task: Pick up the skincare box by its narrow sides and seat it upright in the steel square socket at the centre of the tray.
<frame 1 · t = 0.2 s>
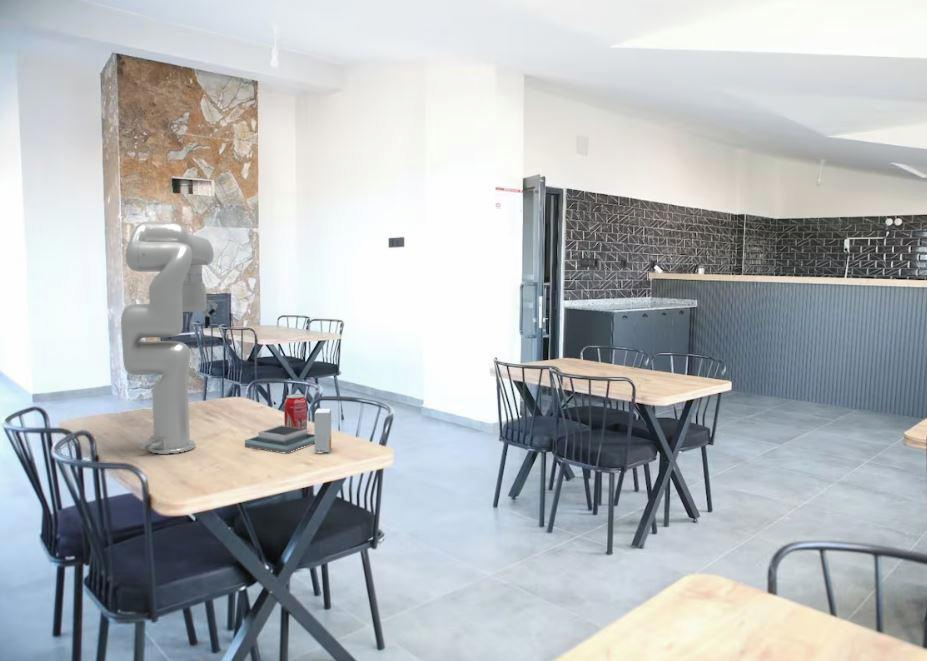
hand: (192, 327, 237), 31 cm above the table, tool pointing down, fingers open, 9 cm apart
skincare box: (323, 451, 196), on the table
tray: (283, 444, 203), on the table
soda can: (296, 432, 217), on the table
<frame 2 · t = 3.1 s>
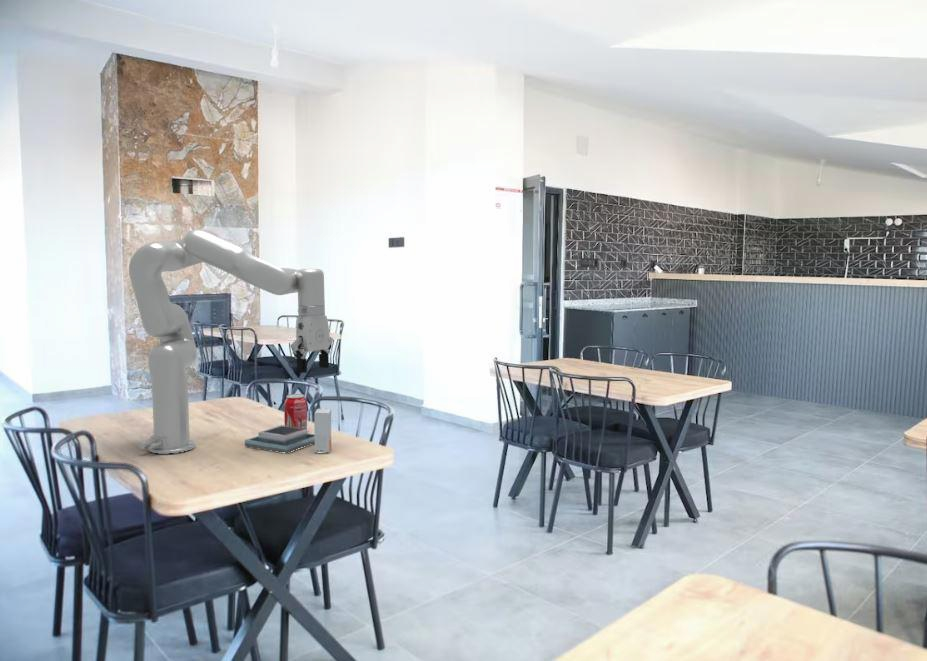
hand: (313, 369, 197), 23 cm above the table, tool pointing down, fingers open, 9 cm apart
nothing on the table moved.
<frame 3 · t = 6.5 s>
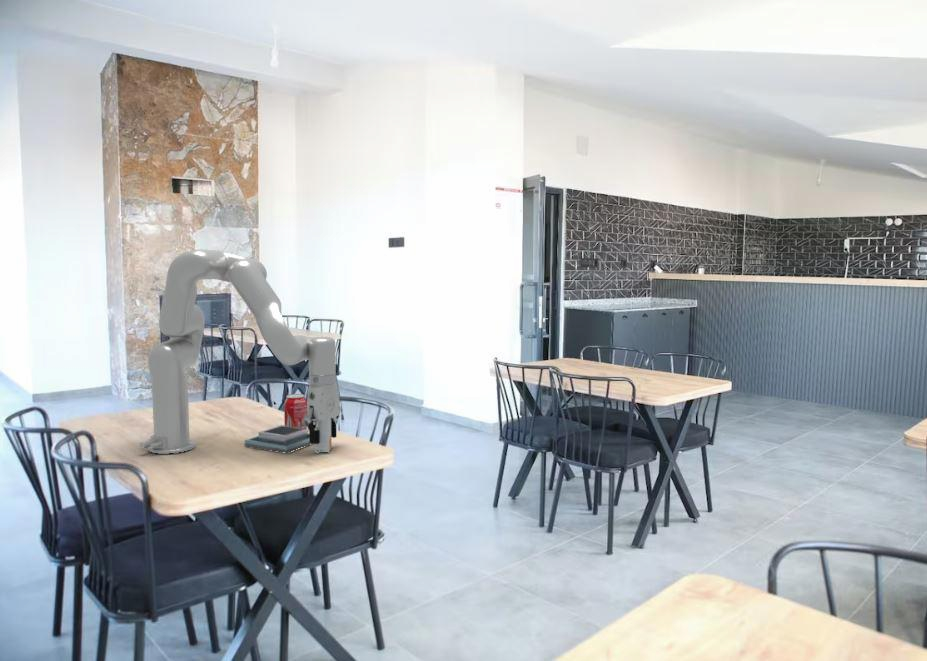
hand: (323, 439, 196), 3 cm above the table, tool pointing down, fingers closed on skincare box, 7 cm apart
skincare box: (323, 451, 196), on the table, touching gripper
everything else where it was.
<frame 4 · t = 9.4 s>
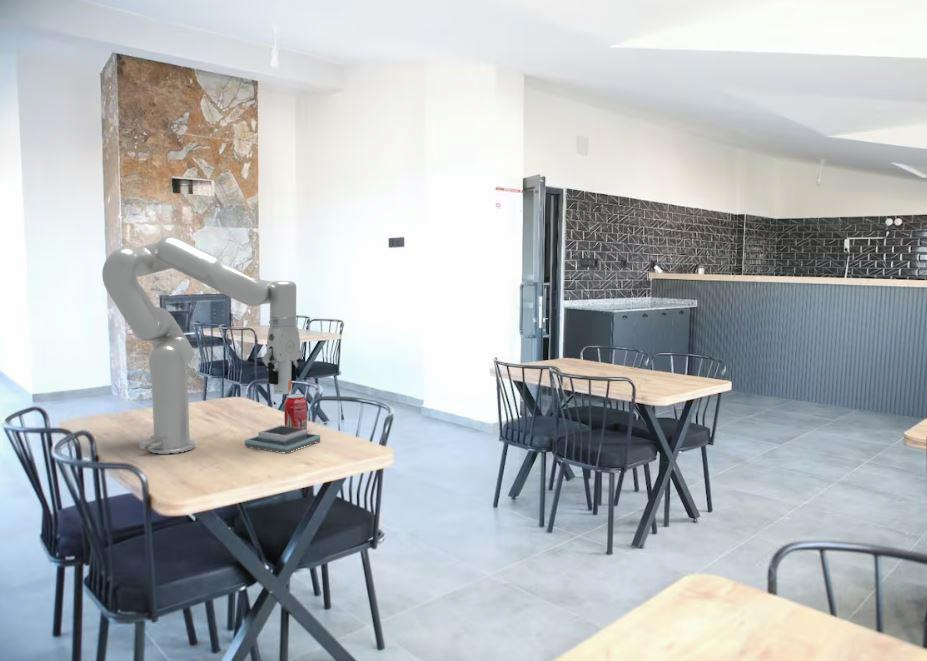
hand: (282, 381, 200), 19 cm above the table, tool pointing down, fingers closed on skincare box, 7 cm apart
skincare box: (282, 393, 201), point 16 cm above the table, touching gripper
everything else where it was.
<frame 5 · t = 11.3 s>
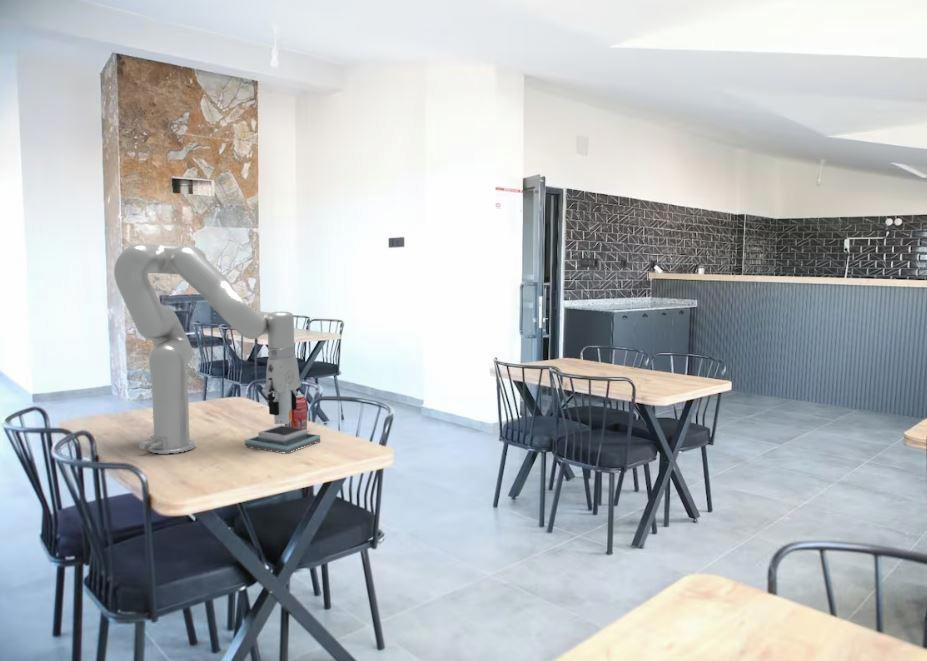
hand: (283, 411, 202), 10 cm above the table, tool pointing down, fingers closed on skincare box, 7 cm apart
skincare box: (283, 422, 202), point 7 cm above the table, touching gripper
everything else where it was.
when the fingers open (6 cm above the table, at t = 12.7 s): skincare box drops 1 cm, resting on tray.
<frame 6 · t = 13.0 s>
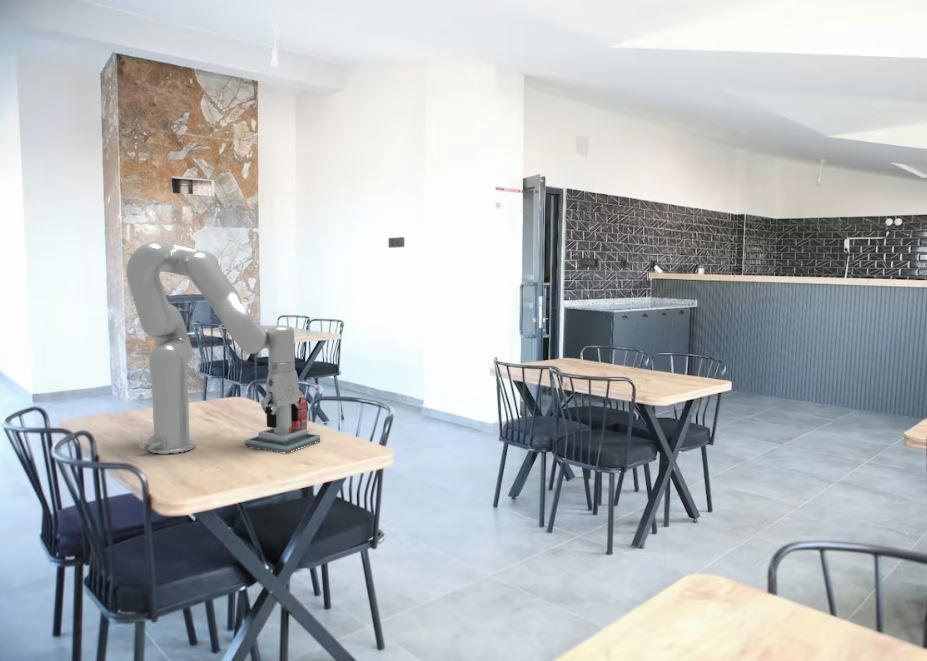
hand: (282, 423, 202), 6 cm above the table, tool pointing down, fingers open, 9 cm apart
skincare box: (283, 440, 203), point 1 cm above the table, touching tray
everything else where it was.
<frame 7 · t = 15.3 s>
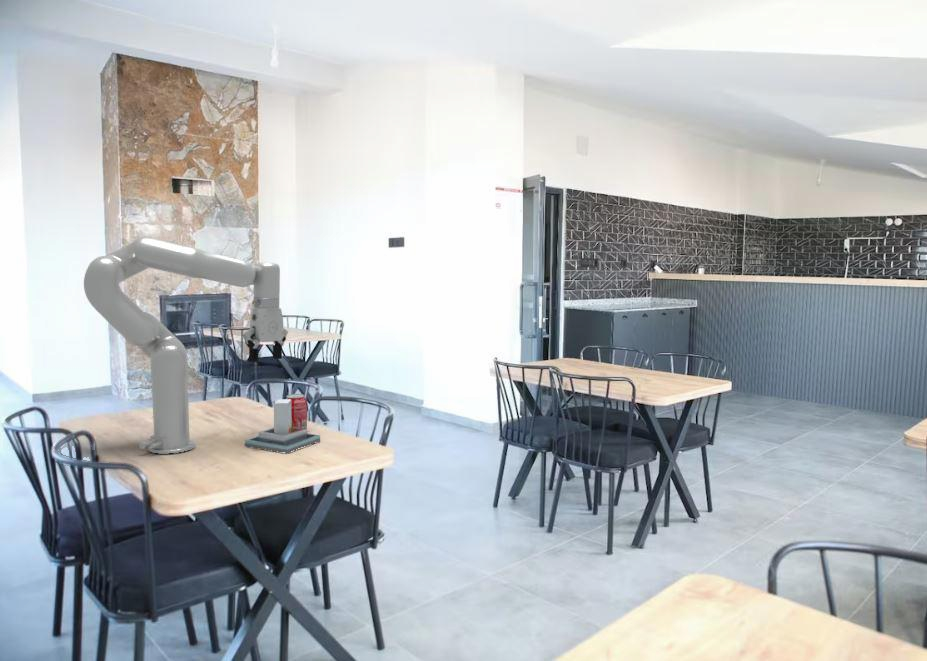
hand: (265, 359, 205), 25 cm above the table, tool pointing down, fingers open, 9 cm apart
nothing on the table moved.
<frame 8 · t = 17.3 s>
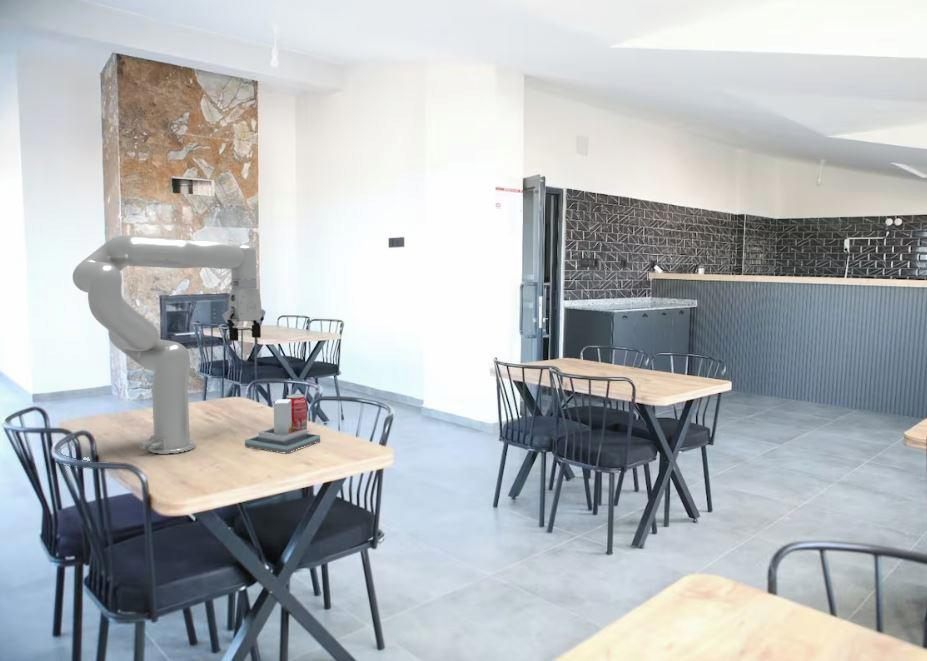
hand: (245, 339, 212), 30 cm above the table, tool pointing down, fingers open, 9 cm apart
nothing on the table moved.
at the end: skincare box 0.2 cm off-centre on the tray, point 1.0 cm above the tray's base; skincare box tilted 0°; the gripper is holding nothing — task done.
